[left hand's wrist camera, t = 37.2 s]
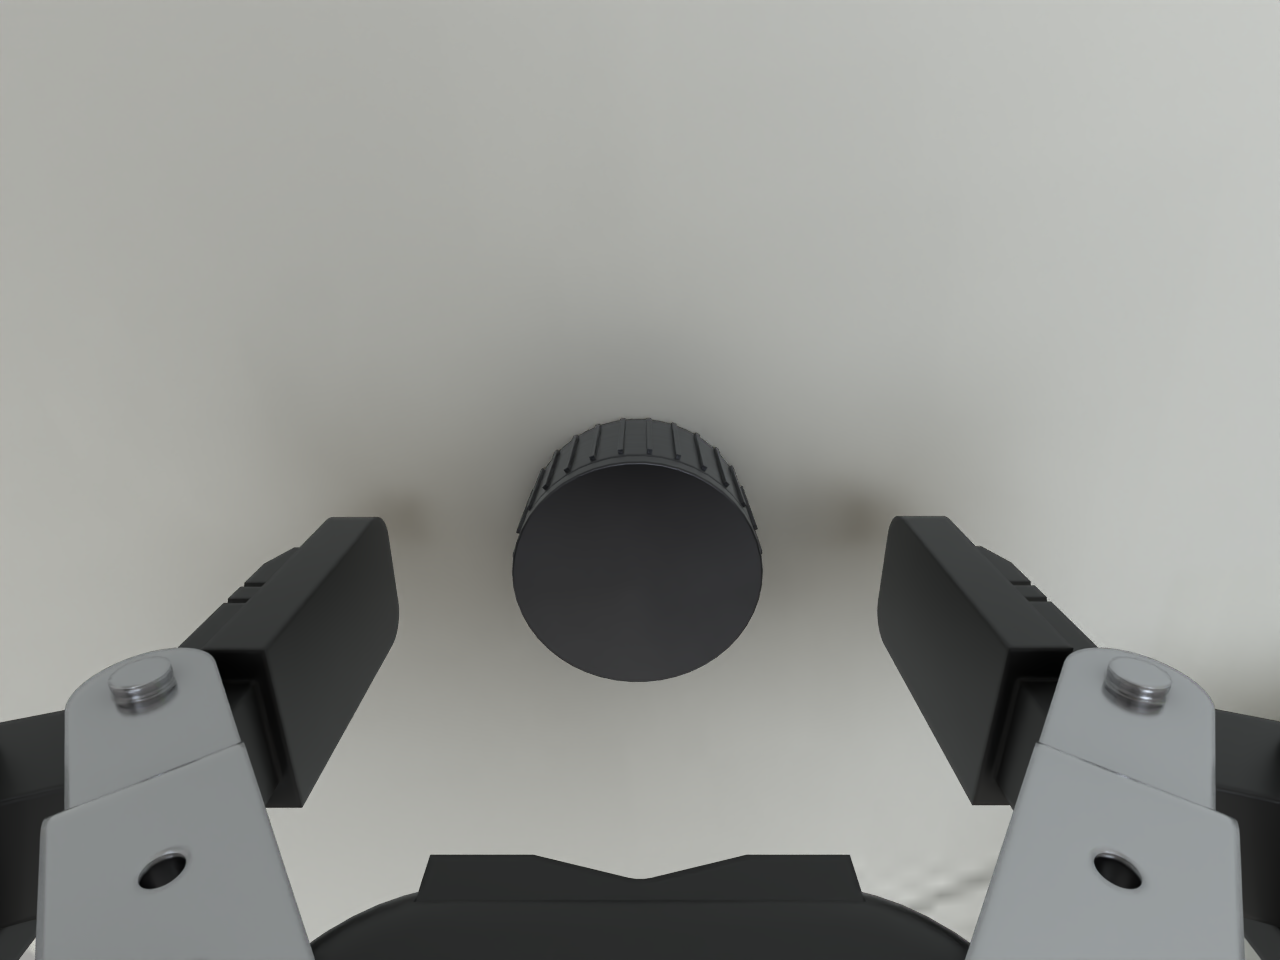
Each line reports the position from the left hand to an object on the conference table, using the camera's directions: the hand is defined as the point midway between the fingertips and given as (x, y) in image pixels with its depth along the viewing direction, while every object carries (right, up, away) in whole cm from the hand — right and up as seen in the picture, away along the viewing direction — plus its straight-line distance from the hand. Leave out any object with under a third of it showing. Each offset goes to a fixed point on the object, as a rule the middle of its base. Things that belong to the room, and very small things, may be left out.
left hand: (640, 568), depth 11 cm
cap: (0, 0, 0) cm, 0 cm away
